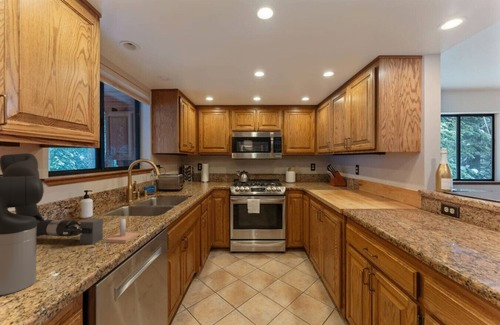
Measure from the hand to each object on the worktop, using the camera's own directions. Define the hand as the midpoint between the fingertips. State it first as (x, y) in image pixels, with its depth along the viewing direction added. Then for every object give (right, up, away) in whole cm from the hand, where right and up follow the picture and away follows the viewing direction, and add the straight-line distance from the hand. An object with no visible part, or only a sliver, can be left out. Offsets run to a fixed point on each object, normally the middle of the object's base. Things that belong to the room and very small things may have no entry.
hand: (96, 229), depth 100 cm
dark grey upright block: (-3, -6, 0) cm, 6 cm away
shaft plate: (+10, -6, +4) cm, 12 cm away
